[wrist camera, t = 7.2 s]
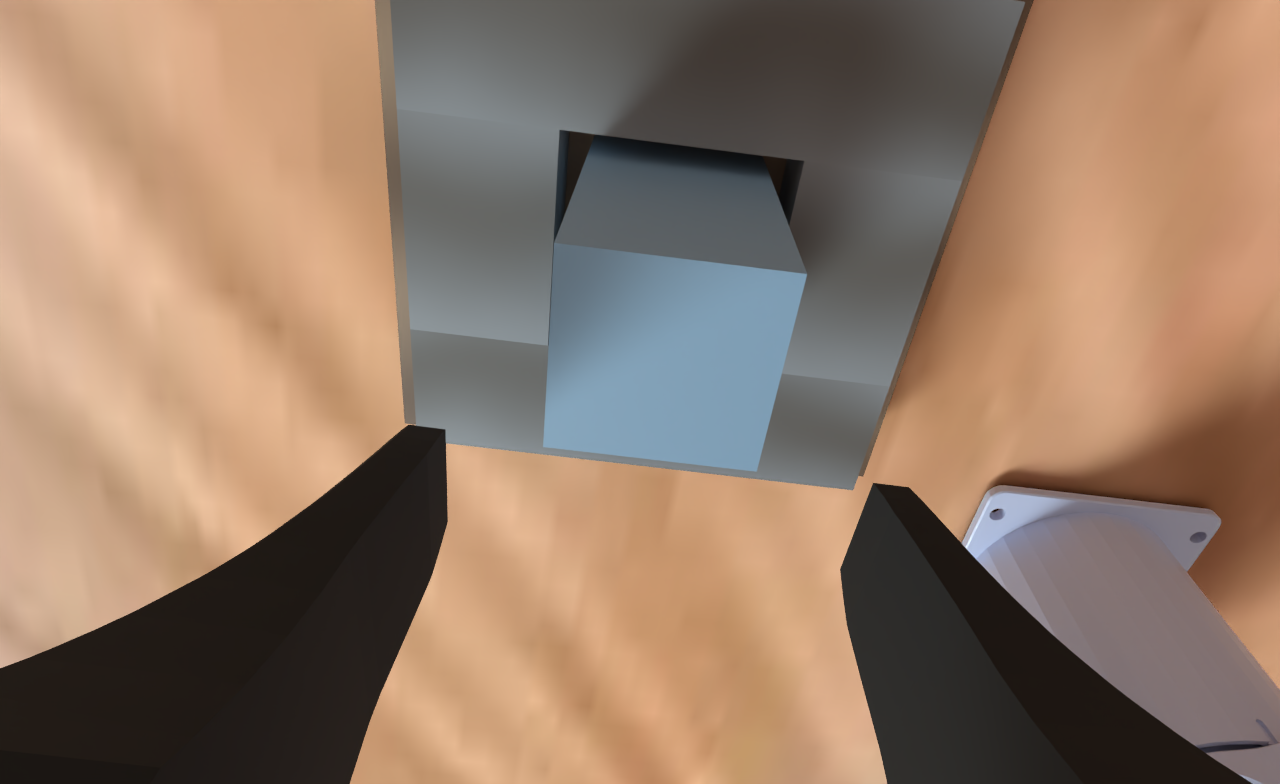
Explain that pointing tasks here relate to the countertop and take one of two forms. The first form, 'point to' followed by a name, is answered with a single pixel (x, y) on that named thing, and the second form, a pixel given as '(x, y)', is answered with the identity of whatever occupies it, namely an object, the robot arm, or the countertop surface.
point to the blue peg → (670, 306)
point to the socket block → (688, 116)
